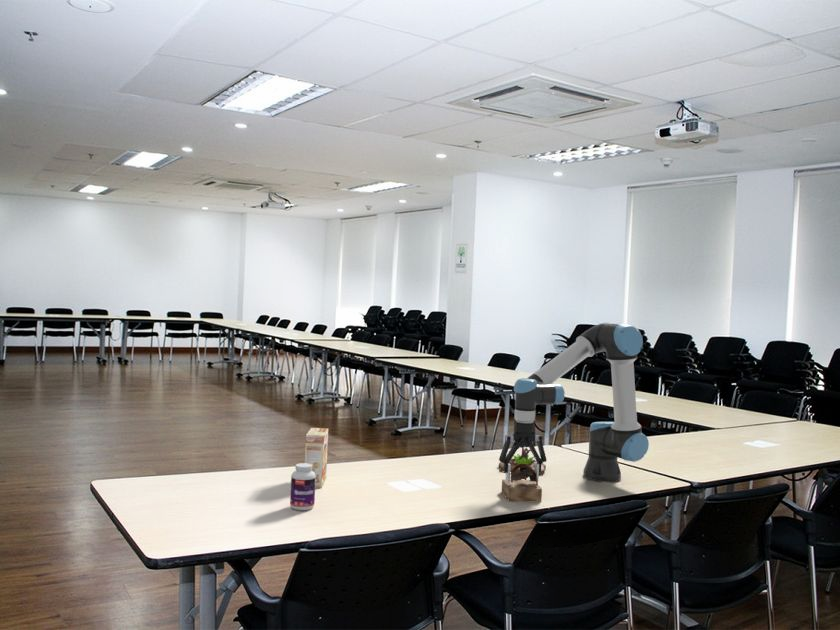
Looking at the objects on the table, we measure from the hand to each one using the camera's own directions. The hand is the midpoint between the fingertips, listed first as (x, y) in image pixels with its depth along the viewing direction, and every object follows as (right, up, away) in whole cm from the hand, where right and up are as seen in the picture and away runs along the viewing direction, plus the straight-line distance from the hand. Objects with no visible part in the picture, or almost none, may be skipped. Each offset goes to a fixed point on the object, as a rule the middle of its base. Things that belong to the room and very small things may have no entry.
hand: (521, 481), depth 263 cm
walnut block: (0, -6, 0) cm, 6 cm away
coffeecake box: (-77, -3, +8) cm, 77 cm away
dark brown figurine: (+1, -1, -1) cm, 1 cm away
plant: (+6, -5, +42) cm, 43 cm away
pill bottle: (-77, -4, -24) cm, 81 cm away
